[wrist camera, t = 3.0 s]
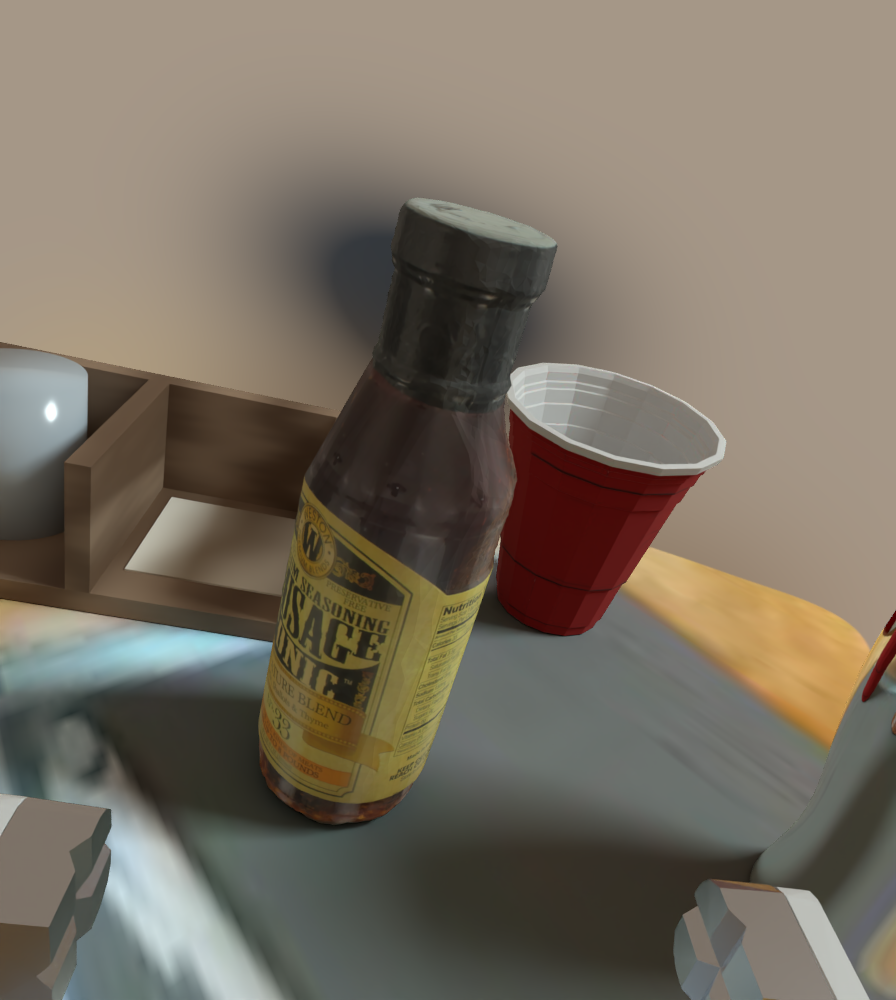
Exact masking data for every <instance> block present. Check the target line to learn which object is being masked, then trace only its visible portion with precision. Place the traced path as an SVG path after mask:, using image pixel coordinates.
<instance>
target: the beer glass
mask: <svg viewBox="0 0 896 1000" xmlns="http://www.w3.org/2000/svg"><path fill="white" fill-rule="evenodd" d="M750 883H754V884H764V885H771V886H772V887H782V888H791V889H801V890H806V891H810V892H811V893H812V894H813V895H814V896H815V897H816V898H817V899H818V901H819V902H820V904H821V906H822V908H823V910H824V912H825V914H826V916H827V918H828V920H829V922H830V924H831V926H832V928H833V930H834V931H835V933H836V935H837V937H838V939H839V941H840V943H841V945H842V947H843V949H844V951H845V953H846V955H847V957H848V959H849V961H850V963H851V964H852V966H853V968H854V970H855V972H856V974H857V976H858V978H859V980H860V982H861V984H862V986H863V988H864V990H865V992H866V994H867V995H868V997H869V999H870V1000H896V610H895V612H894V614H893V615H892V617H891V618H890V619H889V621H888V622H887V624H886V625H885V627H884V628H883V630H882V631H881V633H880V635H879V637H878V638H877V640H876V642H875V644H874V646H873V647H872V649H871V651H870V653H869V654H868V656H867V658H866V660H865V661H864V663H863V665H862V667H861V669H860V671H859V674H858V676H857V678H856V681H855V683H854V686H853V688H852V690H851V693H850V695H849V697H848V700H847V702H846V705H845V707H844V710H843V713H842V716H841V719H840V722H839V724H838V727H837V730H836V733H835V736H834V739H833V742H832V745H831V748H830V751H829V754H828V757H827V760H826V763H825V766H824V768H823V771H822V774H821V776H820V779H819V782H818V784H817V787H816V789H815V792H814V794H813V796H812V797H811V799H810V801H809V803H808V805H807V807H806V809H805V810H804V811H803V813H802V814H801V815H800V817H799V818H798V820H797V821H796V822H795V823H794V824H793V825H792V826H791V827H790V828H789V829H788V830H787V831H786V832H785V833H784V834H783V835H781V836H780V837H779V838H778V839H777V840H776V841H775V842H774V843H773V844H771V845H770V846H769V847H768V848H767V849H766V850H765V851H764V852H763V853H762V854H761V855H760V857H759V858H758V859H757V861H756V862H755V864H754V866H753V869H752V872H751V876H750Z"/></svg>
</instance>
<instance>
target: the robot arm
mask: <svg viewBox="0 0 896 1000" xmlns="http://www.w3.org/2000/svg"><path fill="white" fill-rule="evenodd" d="M110 829H111V809H106V808H99V807H92V806H85V805H79V804H72V803H65V802H58V801H51V800H44V799H37V798H31V797H24V796H16V795H8V794H0V1000H62V999H63V996H64V994H65V992H66V989H67V987H68V984H69V982H70V980H71V977H72V975H73V972H74V970H75V968H76V965H77V940H78V939H79V938H81V937H82V936H83V935H84V934H86V933H87V932H88V931H89V930H91V928H92V926H93V923H94V921H95V918H96V916H97V913H98V911H99V908H100V905H101V902H102V899H103V895H104V892H105V888H106V885H107V881H108V876H109V870H110V864H111V850H110V849H109V847H108V846H107V845H106V844H105V841H106V838H107V836H108V834H109V831H110ZM694 896H695V899H696V902H697V905H698V906H697V907H695V908H693V909H692V910H690V911H688V912H686V913H685V914H683V915H682V917H681V919H680V921H679V923H678V925H677V927H676V929H675V937H674V948H673V953H674V961H675V968H676V972H677V975H678V979H679V982H680V986H681V988H682V989H683V990H684V992H685V993H686V994H687V995H688V996H689V997H690V999H691V1000H870V999H869V997H868V995H867V994H866V992H865V990H864V988H863V986H862V984H861V982H860V980H859V978H858V976H857V974H856V972H855V970H854V968H853V966H852V964H851V963H850V961H849V959H848V957H847V955H846V953H845V951H844V949H843V947H842V945H841V943H840V941H839V939H838V937H837V935H836V933H835V931H834V930H833V928H832V926H831V924H830V922H829V920H828V918H827V916H826V914H825V912H824V910H823V908H822V906H821V904H820V902H819V901H818V899H817V898H816V897H815V896H814V895H813V894H812V893H811V892H810V891H806V890H801V889H791V888H782V887H772V886H771V885H764V884H754V883H744V882H735V881H725V880H715V879H708V880H706V881H704V882H702V883H700V885H699V887H698V889H697V890H696V892H695V894H694Z"/></svg>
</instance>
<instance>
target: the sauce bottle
mask: <svg viewBox="0 0 896 1000" xmlns="http://www.w3.org/2000/svg"><path fill="white" fill-rule="evenodd" d="M391 250H392V262H393V264H394V266H395V271H394V273H393V275H392V283H391V285H390V290H389V292H388V299H387V305H386V308H385V312H384V316H383V323H382V327H381V332H380V336H379V341H378V343H377V344H376V346H375V347H374V350H373V358H372V360H371V361H370V363H369V365H368V366H367V368H366V370H365V371H364V373H363V375H362V376H361V378H360V380H359V382H358V383H357V385H356V387H355V388H354V390H353V392H352V394H351V395H350V397H349V399H348V401H347V402H346V404H345V406H344V407H343V409H342V411H341V413H340V414H339V416H338V418H337V419H336V421H335V423H334V425H333V426H332V428H331V430H330V432H329V433H328V435H327V437H326V439H325V440H324V442H323V444H322V445H321V447H320V449H319V451H318V452H317V454H316V456H315V458H314V459H313V461H312V463H311V465H310V466H309V468H308V470H307V472H306V473H305V476H304V481H303V486H302V491H301V495H300V499H299V507H298V512H297V516H296V519H295V528H294V534H293V539H292V543H291V549H290V554H289V559H288V563H287V569H286V574H285V581H284V584H283V588H282V598H281V602H280V608H279V613H278V618H277V623H276V628H275V635H274V640H273V645H272V651H271V656H270V662H269V667H268V672H267V677H266V682H265V688H264V694H263V699H262V704H261V710H260V715H259V737H260V739H259V749H260V767H261V771H262V775H263V776H264V777H265V778H266V783H267V786H268V788H270V789H271V790H272V791H273V792H274V793H275V794H276V796H277V797H278V798H279V799H281V800H282V801H283V802H284V803H285V804H286V805H288V806H290V807H291V808H294V809H295V810H296V811H299V812H301V813H303V814H304V815H305V816H306V817H307V818H309V819H312V820H315V821H317V822H318V823H326V824H332V825H336V824H343V823H346V822H353V823H356V822H361V821H370V820H372V819H375V818H377V817H381V816H383V815H385V814H386V813H388V812H389V811H390V810H391V809H392V808H394V807H395V806H396V805H397V804H399V803H400V802H401V800H402V799H403V798H404V797H405V796H406V794H407V793H408V791H409V790H410V788H411V787H412V785H413V782H414V781H415V780H416V779H417V777H418V776H419V774H420V772H421V771H422V769H423V767H424V764H425V762H426V759H427V757H428V754H429V751H430V748H431V745H432V742H433V740H434V737H435V734H436V731H437V728H438V725H439V723H440V720H441V717H442V714H443V711H444V708H445V705H446V702H447V699H448V696H449V693H450V690H451V687H452V684H453V682H454V679H455V676H456V673H457V670H458V667H459V665H460V662H461V659H462V656H463V653H464V650H465V647H466V645H467V642H468V639H469V636H470V633H471V630H472V627H473V625H474V622H475V619H476V616H477V613H478V610H479V607H480V604H481V601H482V598H483V595H484V592H485V589H486V586H487V583H488V580H489V577H490V575H491V572H492V569H493V563H494V555H495V549H496V547H497V545H498V541H499V537H500V534H501V531H502V529H503V526H504V523H505V521H506V518H507V517H508V515H509V509H510V507H511V504H512V500H513V496H514V489H515V485H516V482H517V475H516V468H515V464H514V460H513V454H512V451H511V449H510V446H509V444H508V438H507V434H506V429H505V427H506V426H505V425H506V424H505V414H504V405H505V402H504V398H505V394H506V393H507V392H508V391H509V389H510V387H511V385H512V384H511V379H510V373H511V370H512V367H513V364H514V361H515V359H516V355H517V351H518V348H519V344H520V342H521V338H522V335H523V332H524V328H525V325H526V321H527V318H528V315H529V312H530V308H531V306H532V304H533V303H534V302H535V301H536V300H537V299H538V297H539V296H540V295H541V293H542V292H543V291H544V290H545V288H546V285H547V282H548V279H549V275H550V272H551V268H552V264H553V259H554V257H555V253H556V250H557V243H556V242H555V241H554V240H553V239H552V238H551V237H549V236H547V235H546V234H543V233H542V232H540V231H538V230H536V229H534V228H532V227H530V226H528V225H525V224H521V223H519V222H516V221H513V220H510V219H508V218H505V217H502V216H498V215H496V214H493V213H489V212H485V211H481V210H477V209H473V208H470V207H466V206H461V205H458V204H455V203H448V202H445V201H438V200H431V199H421V198H414V199H410V200H408V201H407V202H406V203H405V204H404V205H403V206H402V208H401V210H400V212H399V217H398V222H397V226H396V228H395V235H394V237H393V240H392V243H391Z"/></svg>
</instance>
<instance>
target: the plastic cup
mask: <svg viewBox="0 0 896 1000" xmlns="http://www.w3.org/2000/svg"><path fill="white" fill-rule="evenodd" d="M510 379H511V384H512V385H511V387H510V389H509V391H508V392H507V393H506V396H507V401H508V406H509V408H510V416H509V420H510V432H509V443H510V449H511V451H512V454H513V460H514V464H515V468H516V475H517V482H516V485H515V489H514V496H513V500H512V504H511V507H510V509H509V515H508V517H507V518H506V521H505V523H504V526H503V529H502V531H501V534H500V537H501V542H500V550H499V558H498V566H497V574H496V580H497V594H498V600H499V601H500V602H501V604H502V605H503V607H504V608H505V609H506V611H507V612H508V613H509V614H511V615H512V616H514V617H515V618H516V619H518V620H519V621H520V622H522V623H523V624H525V625H528V626H530V627H533V628H535V629H537V630H540V631H542V632H546V633H551V634H557V635H563V636H567V635H577V634H582V633H584V632H586V631H588V630H589V629H591V628H593V626H594V625H595V623H596V622H597V621H598V620H600V619H601V617H602V616H603V614H604V613H605V611H606V609H607V608H608V606H609V605H610V603H611V601H612V600H613V598H614V596H615V595H616V593H617V592H618V590H619V588H620V587H621V585H622V584H624V583H626V581H627V580H628V578H629V577H630V575H631V573H632V572H633V570H634V569H635V567H636V566H637V564H638V563H639V561H640V560H641V558H642V557H643V555H644V553H645V552H646V550H647V549H648V547H649V546H650V544H651V543H652V541H653V540H654V538H655V537H656V535H657V533H658V532H659V530H660V529H661V527H662V526H663V524H664V523H665V521H666V520H667V518H668V517H669V515H670V514H671V512H672V510H673V509H674V507H675V506H676V504H677V503H679V502H680V501H681V500H682V499H683V497H684V496H685V494H686V493H687V491H688V490H689V488H690V487H692V486H694V484H695V483H696V481H697V480H698V478H699V477H700V476H701V475H703V474H704V472H705V471H706V470H708V469H710V468H712V467H714V466H716V465H718V464H719V463H720V462H721V460H722V459H723V458H724V453H725V447H726V440H725V439H724V437H723V436H722V434H721V433H720V431H718V429H717V427H716V426H715V424H714V423H713V422H712V421H711V420H709V419H708V418H707V417H705V416H704V415H703V414H701V413H700V412H699V411H697V410H696V409H695V408H693V407H692V406H691V405H689V404H688V403H687V402H685V401H683V400H681V399H679V398H677V397H675V396H673V395H671V394H669V393H667V392H665V391H663V390H661V389H658V388H657V387H655V386H652V385H650V384H647V383H644V382H641V381H638V380H635V379H632V378H629V377H626V376H624V375H621V374H618V373H615V372H610V371H606V370H601V369H596V368H591V367H586V366H581V365H576V364H556V363H540V364H535V365H530V366H525V367H520V368H517V369H516V370H515V371H514V372H513V373H512V374H511V375H510Z"/></svg>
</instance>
